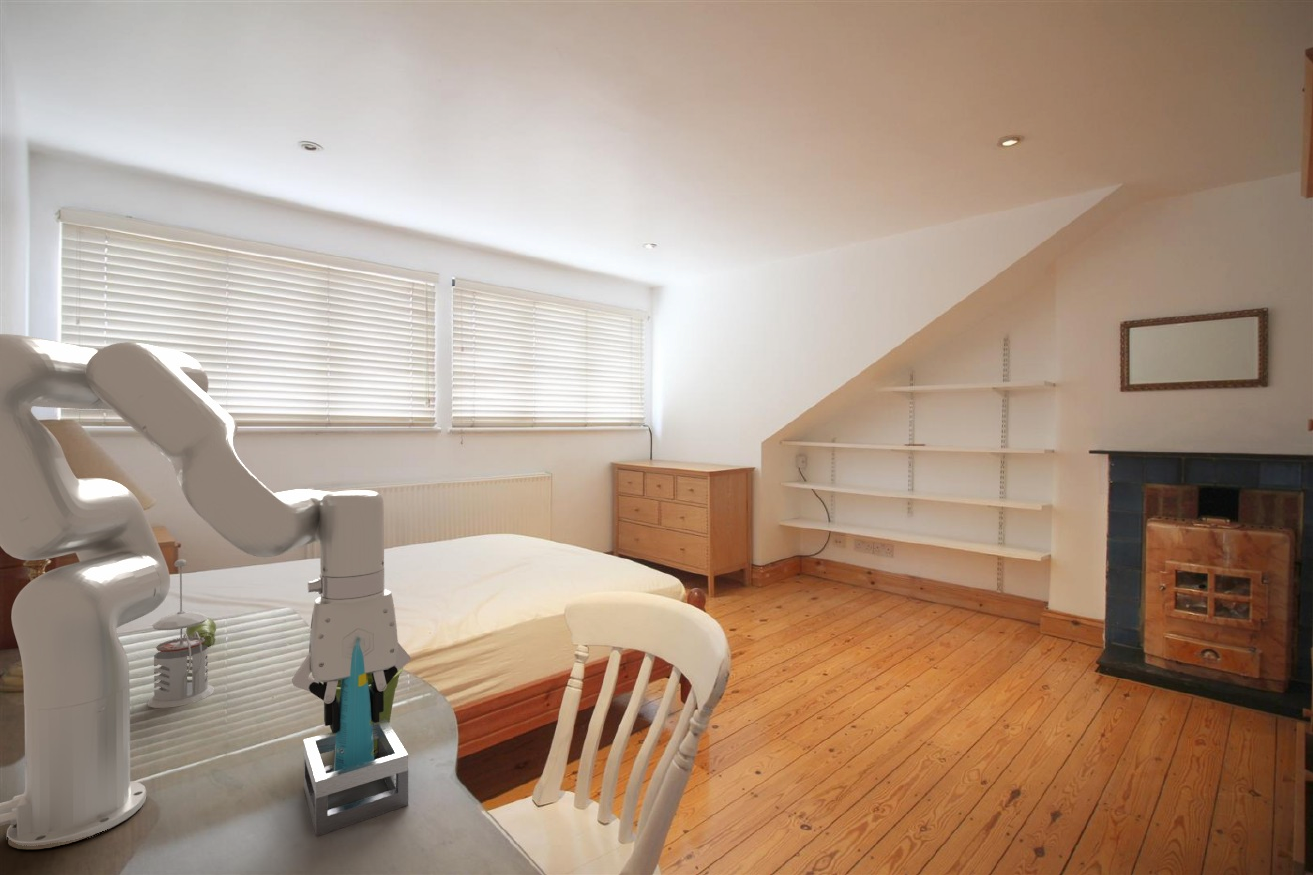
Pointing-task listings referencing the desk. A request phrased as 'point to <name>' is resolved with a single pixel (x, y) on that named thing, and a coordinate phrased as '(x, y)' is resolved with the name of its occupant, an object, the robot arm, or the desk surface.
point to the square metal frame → (355, 780)
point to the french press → (181, 660)
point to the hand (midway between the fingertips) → (354, 722)
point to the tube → (354, 717)
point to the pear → (204, 631)
